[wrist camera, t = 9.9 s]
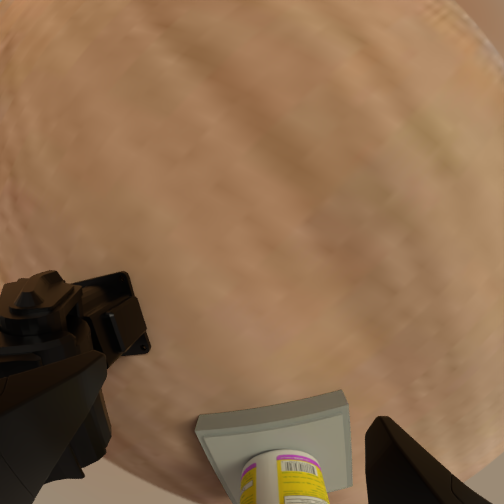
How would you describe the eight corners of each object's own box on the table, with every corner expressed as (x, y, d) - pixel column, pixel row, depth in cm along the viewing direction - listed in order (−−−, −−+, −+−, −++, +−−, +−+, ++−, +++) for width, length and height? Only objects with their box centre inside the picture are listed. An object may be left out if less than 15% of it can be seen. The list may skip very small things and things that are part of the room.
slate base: (235, 491, 23) (233, 507, 20) (199, 415, 22) (193, 433, 19) (348, 472, 22) (353, 488, 20) (341, 389, 21) (349, 406, 18)
